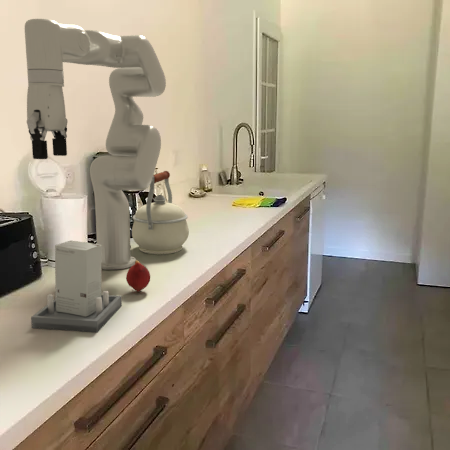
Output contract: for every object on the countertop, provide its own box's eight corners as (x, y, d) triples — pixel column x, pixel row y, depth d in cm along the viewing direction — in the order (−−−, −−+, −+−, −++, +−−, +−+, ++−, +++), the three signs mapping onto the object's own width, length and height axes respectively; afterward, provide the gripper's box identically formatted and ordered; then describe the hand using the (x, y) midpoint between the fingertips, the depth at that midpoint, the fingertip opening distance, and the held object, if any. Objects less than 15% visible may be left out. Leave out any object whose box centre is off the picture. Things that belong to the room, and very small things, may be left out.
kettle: (178, 259, 157) (177, 177, 151) (121, 255, 160) (118, 175, 155) (198, 240, 181) (198, 169, 175) (148, 237, 184) (147, 167, 179)
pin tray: (63, 302, 120) (62, 281, 119) (121, 305, 119) (120, 284, 117) (31, 328, 106) (30, 304, 105) (97, 332, 104) (96, 308, 103)
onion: (151, 287, 131) (151, 257, 129) (149, 295, 125) (148, 263, 124) (128, 287, 131) (127, 257, 129) (125, 295, 125) (123, 263, 124)
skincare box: (55, 312, 111) (51, 245, 108) (72, 303, 117) (69, 239, 113) (88, 317, 108) (85, 249, 105) (104, 308, 114) (101, 242, 111)
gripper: (48, 81, 123) (52, 154, 126) (9, 76, 106) (15, 160, 110) (78, 81, 122) (81, 154, 126) (43, 76, 105) (48, 160, 109)
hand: (50, 157), depth 118 cm, fingers open, 9 cm apart
